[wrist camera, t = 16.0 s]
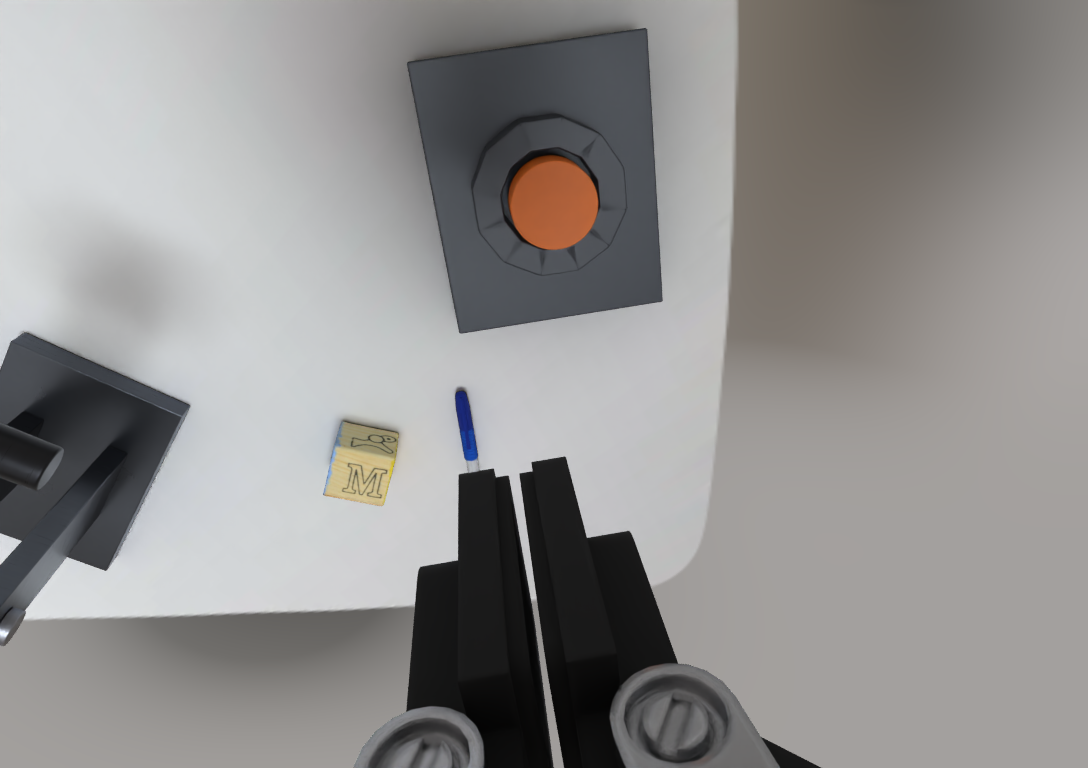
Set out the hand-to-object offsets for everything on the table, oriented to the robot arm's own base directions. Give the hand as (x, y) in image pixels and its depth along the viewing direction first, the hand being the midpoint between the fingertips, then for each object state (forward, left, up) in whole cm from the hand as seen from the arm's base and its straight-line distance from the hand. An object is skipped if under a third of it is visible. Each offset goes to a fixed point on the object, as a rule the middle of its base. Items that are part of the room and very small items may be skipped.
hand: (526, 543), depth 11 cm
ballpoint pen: (+14, -3, -25) cm, 29 cm away
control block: (-1, +3, -25) cm, 25 cm away
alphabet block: (+11, -8, -25) cm, 29 cm away
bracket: (+9, -23, -25) cm, 35 cm away
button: (-1, +3, -21) cm, 22 cm away
